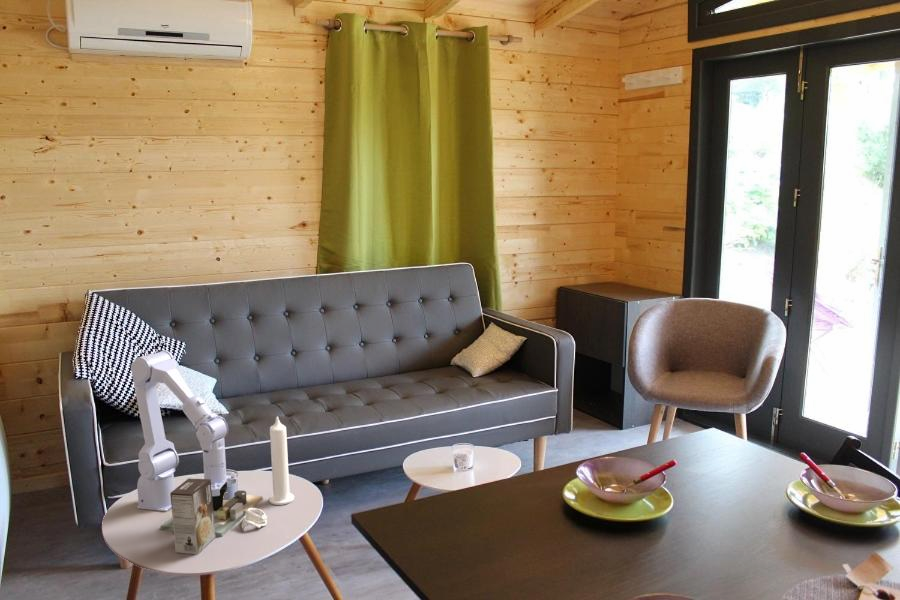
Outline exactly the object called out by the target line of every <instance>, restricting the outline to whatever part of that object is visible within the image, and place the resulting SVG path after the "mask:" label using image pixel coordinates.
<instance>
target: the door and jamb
mask: <svg viewBox="0 0 900 600" xmlns="http://www.w3.org/2000/svg"><path fill="white" fill-rule="evenodd" d="M246 499H247V503H246V504H244V505H243V503H236V504H235V505H234V506H233V507H232V508H231V509H230V516H229V517H228V518H227V519H226V520H225V519H218V515H217V511H214V510H213V514H214V526H215V537H223V536H224V535H225V534H226V533H228V531H230V530H231V529H232V528H233V527H234V526H235V525H236V524H237V523H239V522H240V521H241V520H243V517H244V516H246V515H245V513H246V511H247V510H248V509H249V508H256V506H257V505H259V503H261V502H262V501H263V496H262V495H261V496H260V495H253V494H246ZM228 501H229V500H223V505H224V504H225V503H227V502H228ZM159 527H160V530H162V531H163V530H164V531H172V532H174V528H173V517H172V516H171V517H170V518H169V519H167V520H166V521H164V523H162V524H161V525H160V526H159Z"/></svg>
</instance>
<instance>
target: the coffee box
mask: <svg viewBox="0 0 900 600" xmlns="http://www.w3.org/2000/svg"><path fill="white" fill-rule="evenodd" d="M170 495H171V506H172V507H171V517H173V528H174V531H173V536H174V538H173V539H174V548H175V553H178V554H190V555H192V554H193V555H199V554H200V553H201V552H203V550H204V549H205V548H206V547H207V546H208V545H209V544H210V543H211V542H212V541H213V540H214V539H215V538H216V536H215V526H214V514H213V502H212V489H211V479H204V478H189V477H188V478H187V479H185V481H183V482H182V483H181V484H179V485H178V486H177V487H175V490H173V491H172V492H171V493H170Z"/></svg>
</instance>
